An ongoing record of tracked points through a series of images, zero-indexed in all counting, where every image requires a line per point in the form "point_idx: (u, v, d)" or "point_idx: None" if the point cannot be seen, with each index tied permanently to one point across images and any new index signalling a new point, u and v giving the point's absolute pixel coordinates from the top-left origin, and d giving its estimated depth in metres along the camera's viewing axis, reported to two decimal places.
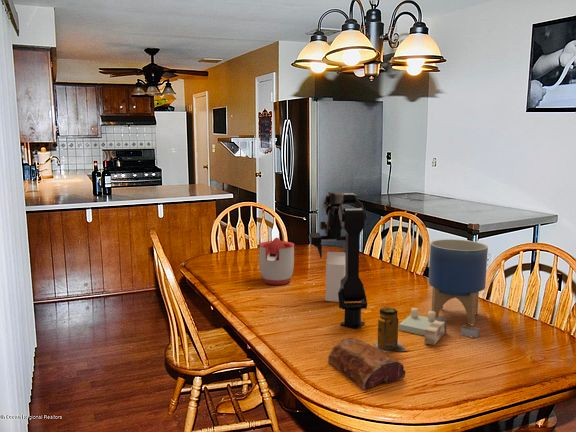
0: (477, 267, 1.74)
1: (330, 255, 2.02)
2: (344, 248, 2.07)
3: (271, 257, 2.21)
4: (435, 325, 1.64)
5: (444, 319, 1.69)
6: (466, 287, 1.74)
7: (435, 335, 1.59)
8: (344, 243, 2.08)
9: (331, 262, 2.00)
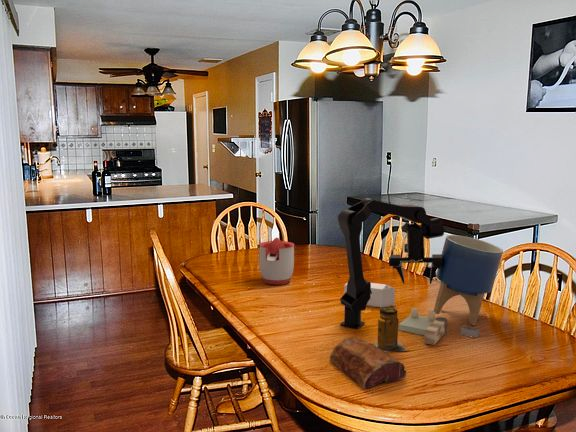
0: (491, 269, 1.73)
1: (391, 291, 1.96)
2: None
3: (271, 257, 2.21)
4: (435, 325, 1.64)
5: (444, 319, 1.69)
6: (476, 287, 1.73)
7: (435, 335, 1.59)
8: None
9: (384, 294, 1.94)
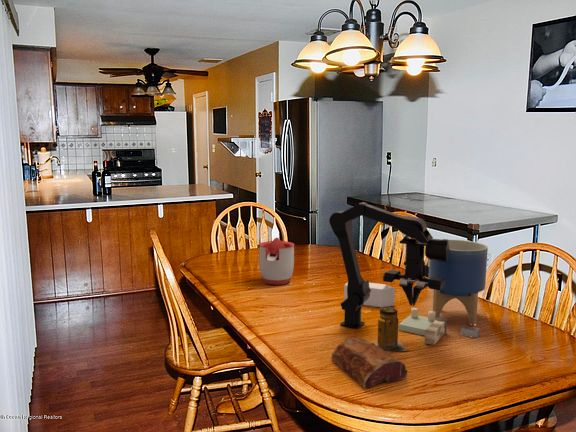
0: (479, 267, 1.74)
1: (391, 291, 1.96)
2: None
3: (271, 257, 2.21)
4: (435, 325, 1.64)
5: (444, 319, 1.69)
6: (468, 288, 1.74)
7: (435, 335, 1.59)
8: None
9: (384, 294, 1.94)
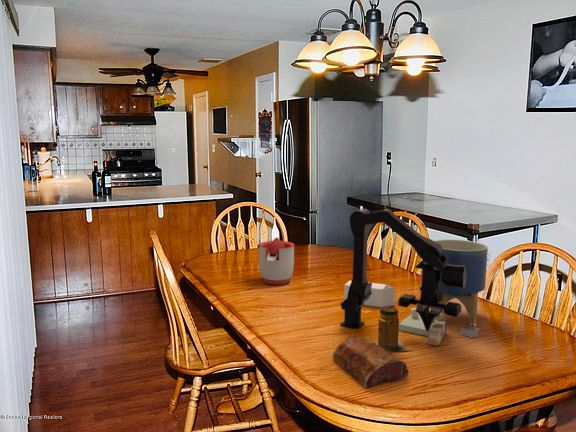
0: (479, 267, 1.74)
1: (391, 291, 1.96)
2: None
3: (271, 257, 2.21)
4: (437, 325, 1.64)
5: (444, 318, 1.69)
6: (468, 288, 1.74)
7: (439, 336, 1.59)
8: None
9: (384, 294, 1.94)
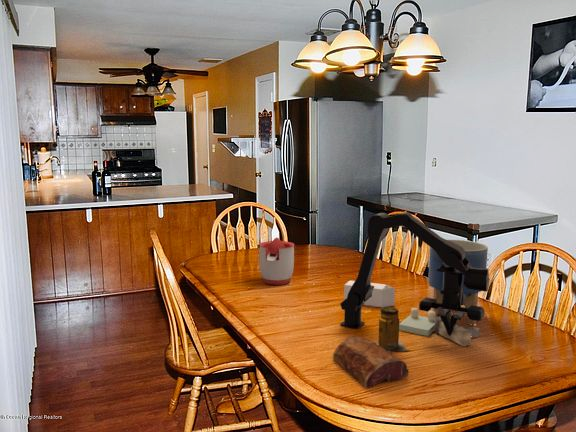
0: (479, 267, 1.74)
1: (391, 291, 1.96)
2: None
3: (271, 257, 2.21)
4: None
5: None
6: None
7: None
8: None
9: (384, 294, 1.94)
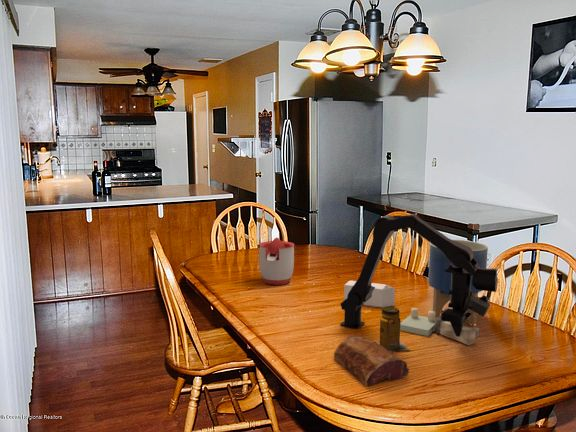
0: (479, 267, 1.74)
1: (391, 291, 1.96)
2: None
3: (271, 257, 2.21)
4: None
5: None
6: None
7: None
8: None
9: (384, 294, 1.94)
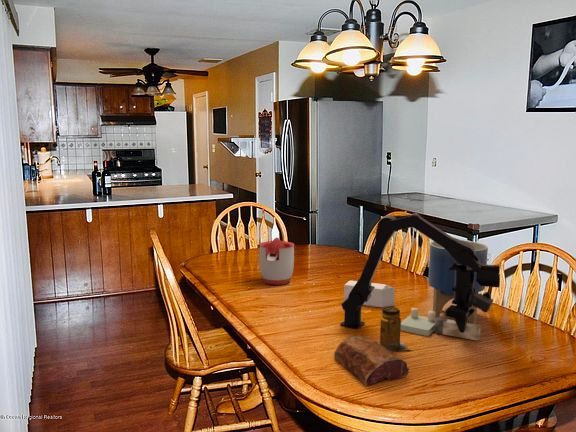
0: None
1: (391, 291, 1.96)
2: None
3: (271, 257, 2.21)
4: None
5: (440, 318, 1.70)
6: None
7: None
8: None
9: (384, 294, 1.94)
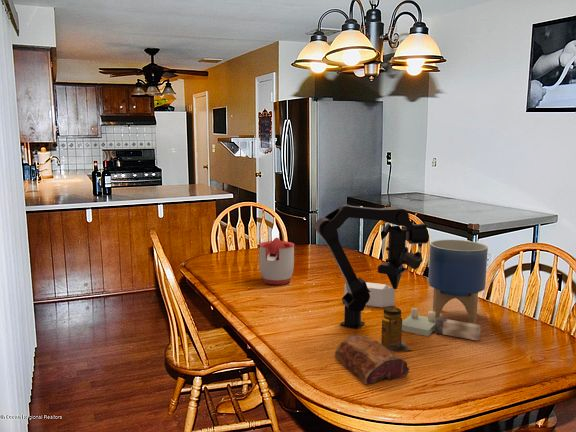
0: (479, 267, 1.74)
1: (391, 291, 1.96)
2: None
3: (271, 257, 2.21)
4: (460, 323, 1.66)
5: (440, 318, 1.70)
6: (468, 288, 1.74)
7: None
8: None
9: (384, 294, 1.94)
